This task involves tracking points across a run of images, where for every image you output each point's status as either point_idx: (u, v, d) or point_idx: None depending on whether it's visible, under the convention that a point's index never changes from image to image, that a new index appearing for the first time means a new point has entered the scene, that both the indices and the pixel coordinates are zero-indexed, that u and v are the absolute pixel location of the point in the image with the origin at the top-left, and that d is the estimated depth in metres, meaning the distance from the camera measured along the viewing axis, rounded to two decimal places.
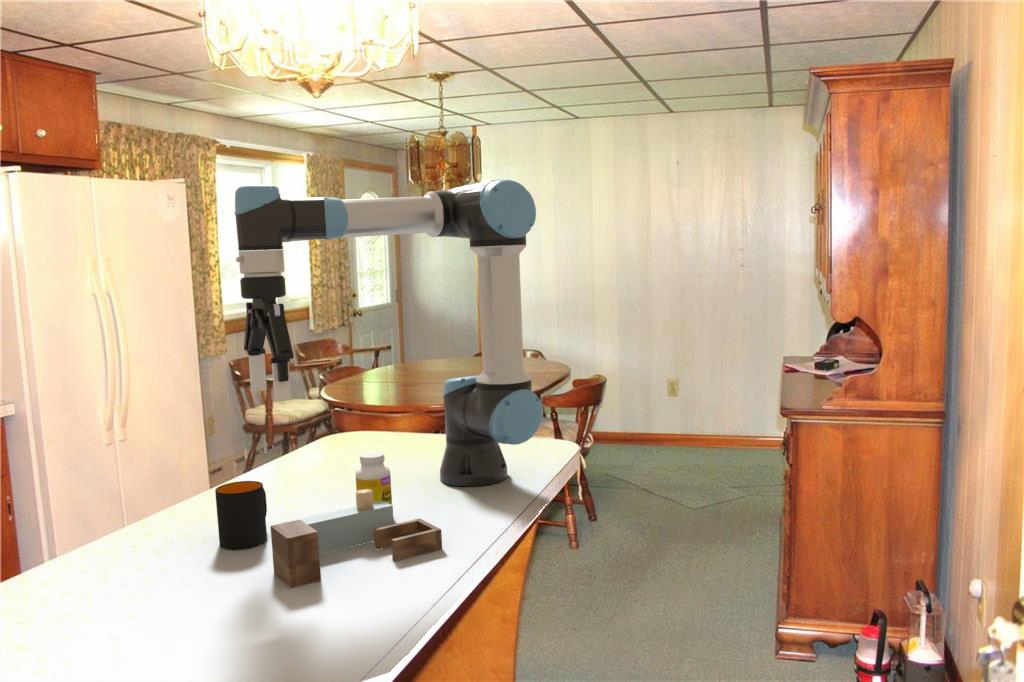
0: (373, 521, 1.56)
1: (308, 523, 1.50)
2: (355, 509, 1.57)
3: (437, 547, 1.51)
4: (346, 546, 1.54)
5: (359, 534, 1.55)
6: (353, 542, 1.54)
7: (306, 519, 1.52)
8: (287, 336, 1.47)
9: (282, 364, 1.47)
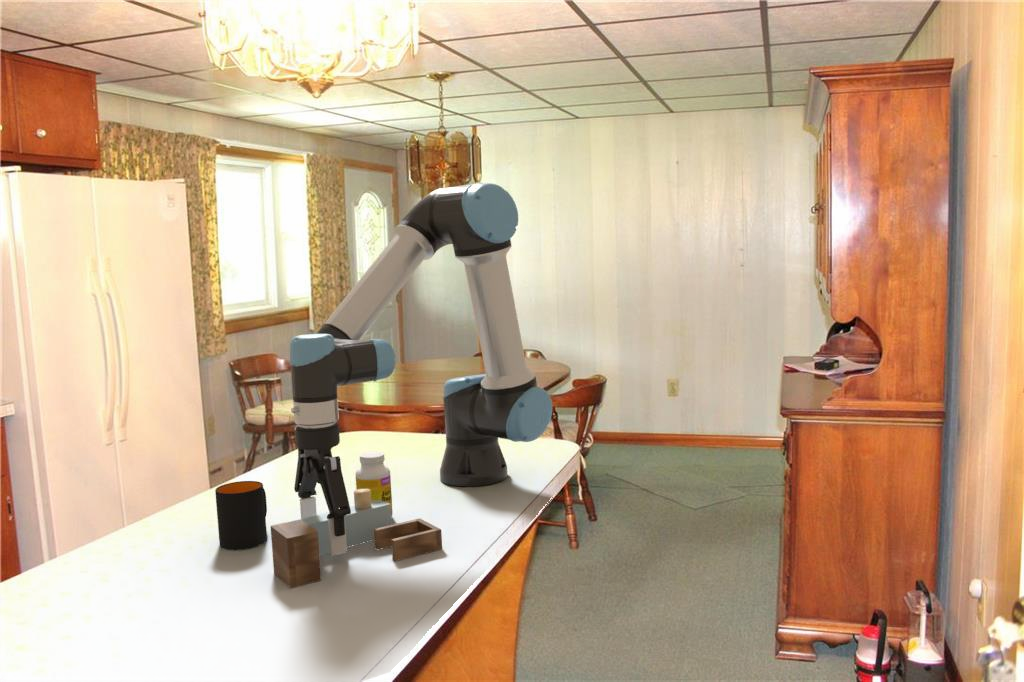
0: (372, 520, 1.57)
1: (309, 523, 1.50)
2: (353, 508, 1.57)
3: (437, 547, 1.51)
4: None
5: (358, 533, 1.55)
6: (352, 541, 1.55)
7: (306, 520, 1.52)
8: (344, 491, 1.46)
9: (339, 519, 1.46)
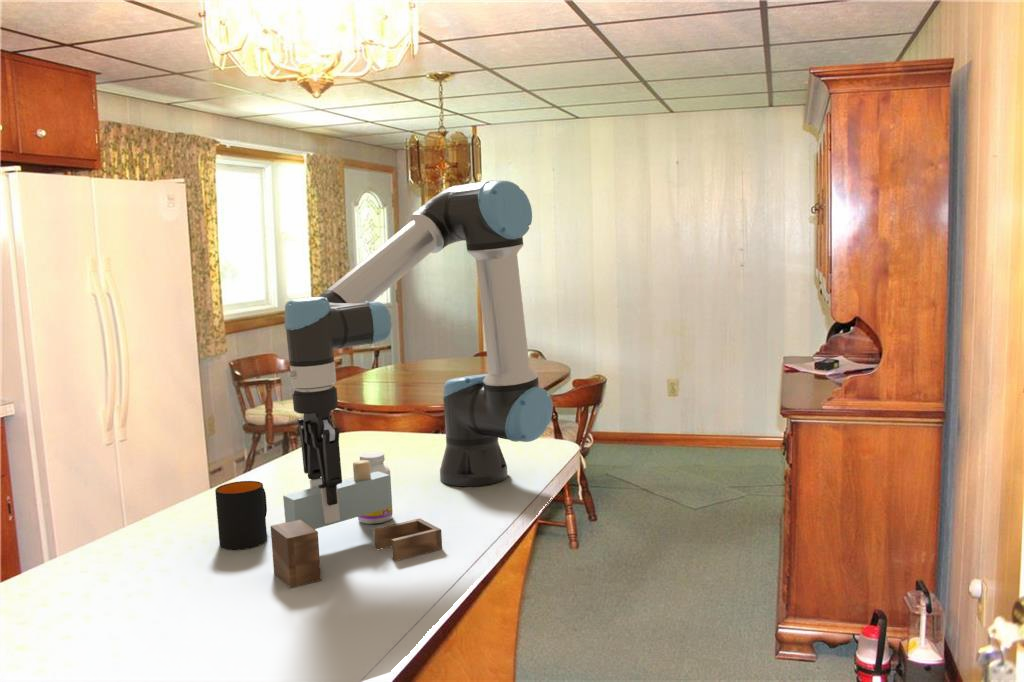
0: (371, 491, 1.57)
1: (309, 495, 1.50)
2: (353, 480, 1.57)
3: (437, 547, 1.51)
4: (346, 517, 1.54)
5: (358, 504, 1.55)
6: (353, 512, 1.55)
7: (306, 491, 1.52)
8: (338, 462, 1.48)
9: (331, 488, 1.49)
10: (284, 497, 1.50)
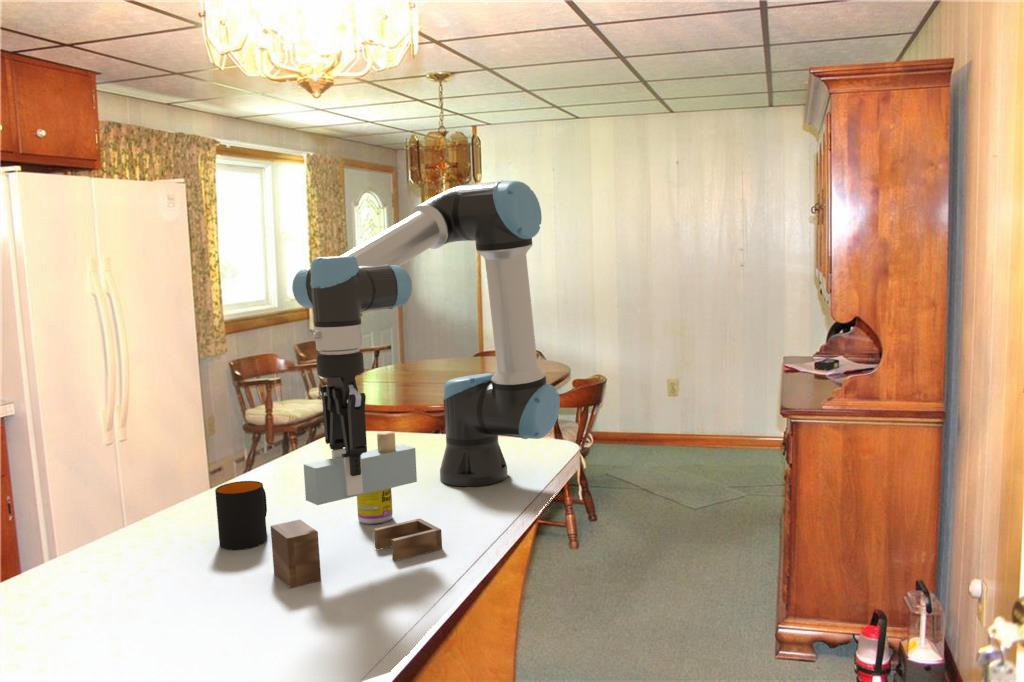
0: (396, 464, 1.49)
1: (332, 464, 1.41)
2: (376, 452, 1.49)
3: (437, 547, 1.51)
4: (369, 489, 1.45)
5: (382, 477, 1.47)
6: (376, 485, 1.46)
7: (328, 461, 1.43)
8: (364, 430, 1.40)
9: (355, 458, 1.41)
10: (305, 466, 1.42)
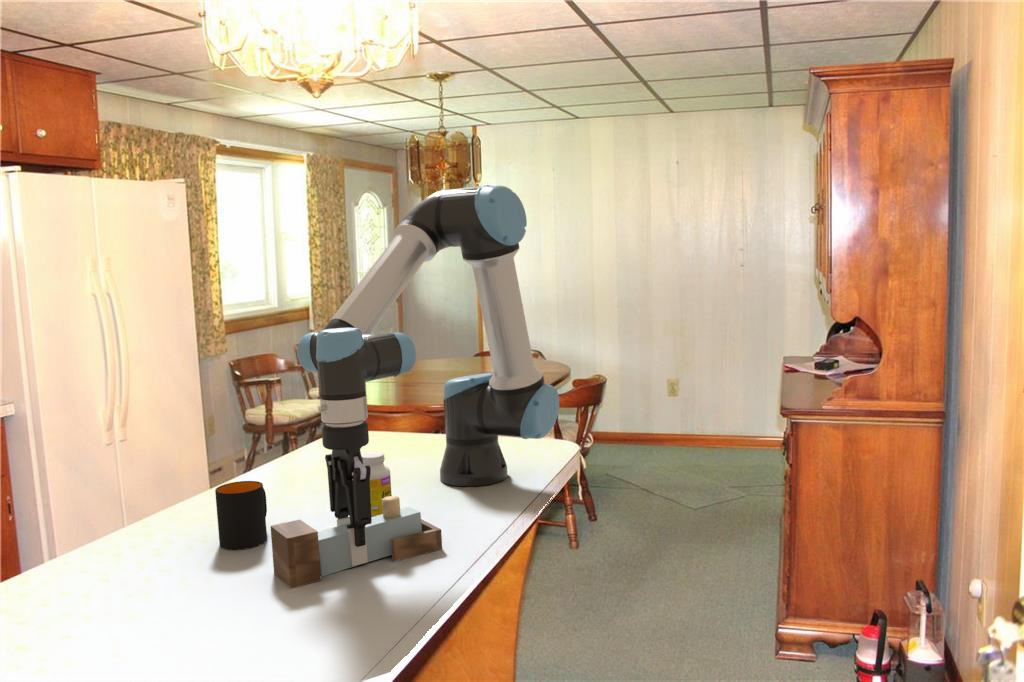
0: (401, 529, 1.49)
1: (335, 534, 1.42)
2: (382, 517, 1.50)
3: (437, 547, 1.51)
4: (374, 557, 1.47)
5: (387, 543, 1.48)
6: (381, 552, 1.47)
7: (332, 530, 1.45)
8: (368, 502, 1.41)
9: (359, 529, 1.42)
10: None
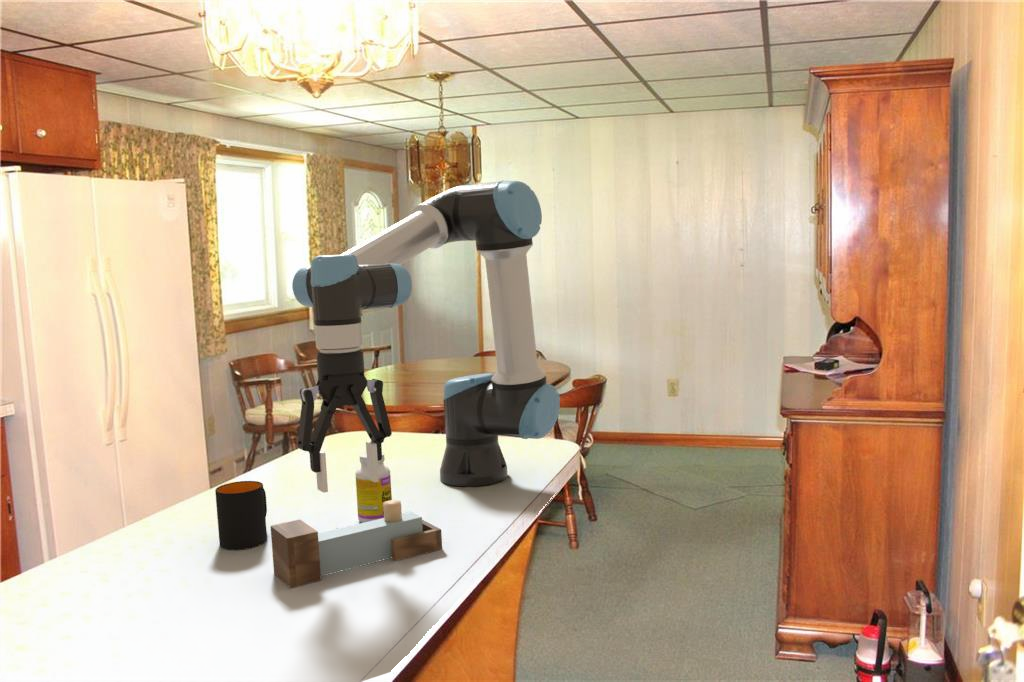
0: (402, 534, 1.49)
1: (335, 536, 1.43)
2: (383, 521, 1.49)
3: (437, 547, 1.51)
4: (374, 560, 1.46)
5: (387, 547, 1.48)
6: (381, 556, 1.47)
7: (332, 532, 1.45)
8: (304, 427, 1.39)
9: (310, 454, 1.41)
10: None
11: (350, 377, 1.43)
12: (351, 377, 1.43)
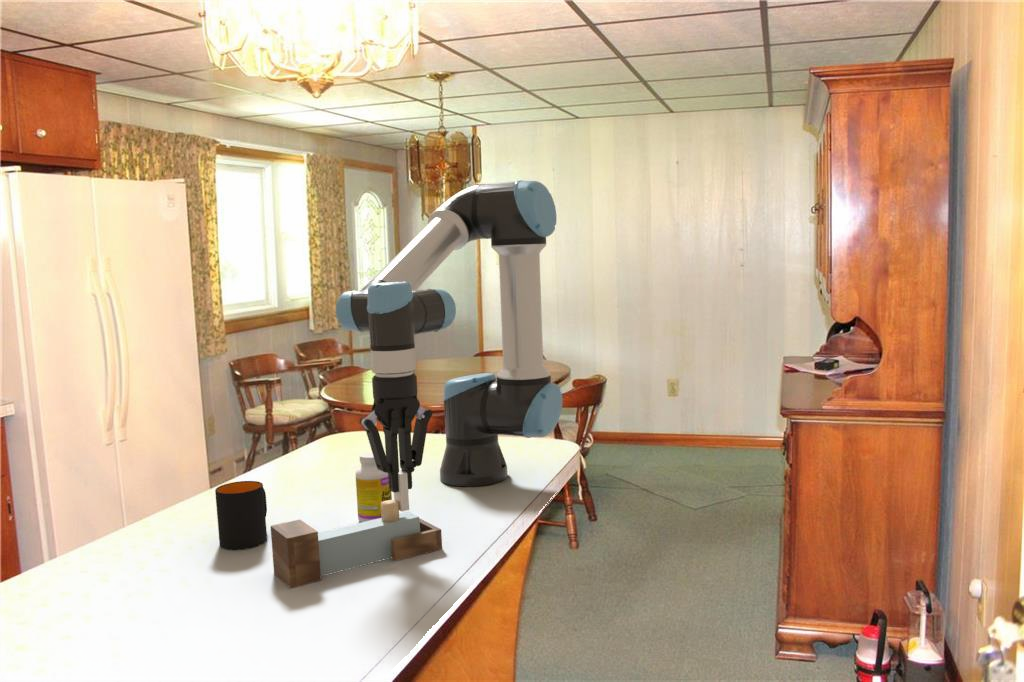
0: (399, 534, 1.49)
1: (332, 536, 1.42)
2: (380, 521, 1.49)
3: (437, 547, 1.51)
4: (371, 560, 1.46)
5: (384, 547, 1.47)
6: (378, 556, 1.47)
7: (330, 532, 1.44)
8: (377, 452, 1.46)
9: (389, 475, 1.49)
10: None
11: None
12: None
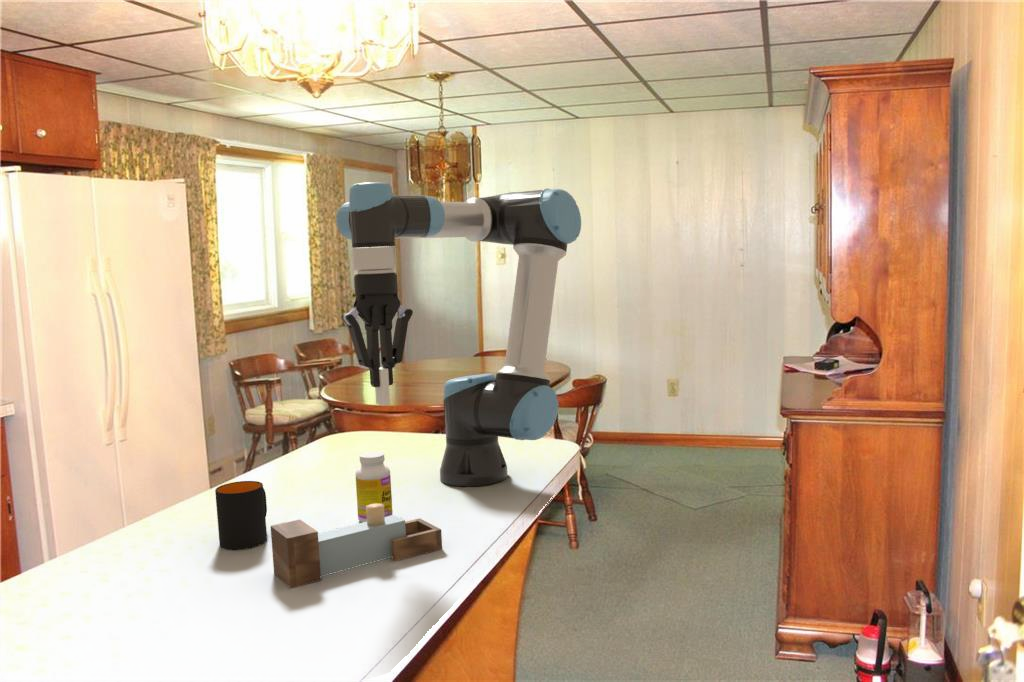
0: (385, 537, 1.48)
1: None
2: (365, 525, 1.48)
3: (437, 547, 1.51)
4: (357, 564, 1.45)
5: (370, 551, 1.46)
6: (364, 560, 1.45)
7: None
8: (358, 347, 1.52)
9: (370, 370, 1.55)
10: None
11: (388, 293, 1.54)
12: (389, 294, 1.54)
